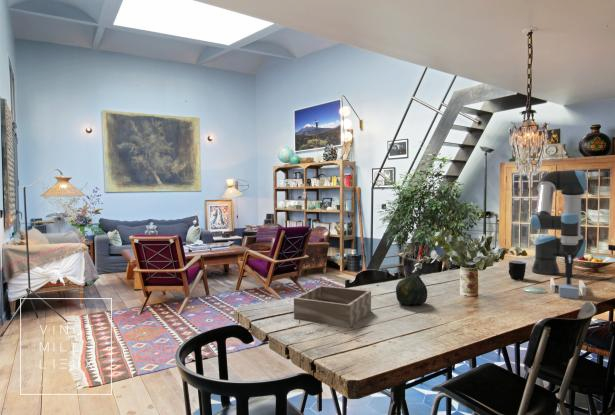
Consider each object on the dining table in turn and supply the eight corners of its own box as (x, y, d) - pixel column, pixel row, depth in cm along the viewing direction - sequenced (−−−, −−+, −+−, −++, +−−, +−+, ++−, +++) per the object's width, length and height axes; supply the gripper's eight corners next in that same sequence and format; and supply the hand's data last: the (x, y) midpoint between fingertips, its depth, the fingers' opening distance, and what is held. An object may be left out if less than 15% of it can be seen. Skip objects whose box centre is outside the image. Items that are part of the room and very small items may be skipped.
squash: (384, 291, 206) (402, 271, 198) (404, 287, 215) (421, 268, 207) (402, 315, 198) (421, 295, 190) (421, 310, 208) (440, 291, 200)
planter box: (320, 304, 204) (320, 285, 204) (370, 310, 192) (370, 291, 192) (294, 319, 182) (293, 298, 181) (349, 327, 170) (349, 305, 170)
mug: (514, 276, 258) (514, 260, 258) (528, 279, 251) (529, 262, 250) (502, 279, 252) (502, 262, 252) (516, 281, 245) (516, 264, 244)
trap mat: (555, 285, 234) (555, 285, 234) (576, 287, 230) (576, 287, 230) (555, 287, 231) (555, 286, 231) (577, 289, 226) (577, 288, 226)
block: (558, 293, 219) (558, 284, 218) (577, 295, 215) (577, 285, 215) (559, 297, 212) (559, 287, 211) (578, 299, 208) (578, 289, 208)
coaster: (523, 287, 232) (523, 286, 232) (546, 289, 227) (546, 288, 227) (522, 291, 223) (522, 290, 223) (547, 294, 217) (547, 292, 217)
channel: (550, 285, 236) (550, 277, 236) (582, 287, 229) (582, 280, 229) (551, 292, 220) (551, 284, 220) (585, 295, 213) (586, 287, 213)
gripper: (559, 241, 223) (559, 286, 225) (561, 245, 212) (560, 292, 213) (576, 242, 220) (575, 287, 221) (579, 246, 208) (578, 293, 210)
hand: (568, 289), depth 217 cm, fingers closed
